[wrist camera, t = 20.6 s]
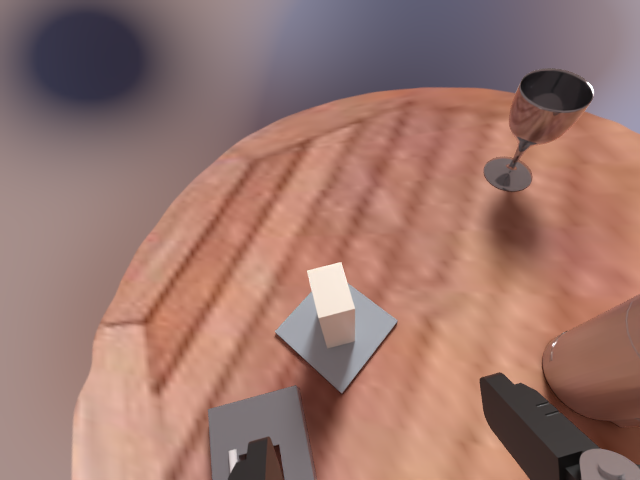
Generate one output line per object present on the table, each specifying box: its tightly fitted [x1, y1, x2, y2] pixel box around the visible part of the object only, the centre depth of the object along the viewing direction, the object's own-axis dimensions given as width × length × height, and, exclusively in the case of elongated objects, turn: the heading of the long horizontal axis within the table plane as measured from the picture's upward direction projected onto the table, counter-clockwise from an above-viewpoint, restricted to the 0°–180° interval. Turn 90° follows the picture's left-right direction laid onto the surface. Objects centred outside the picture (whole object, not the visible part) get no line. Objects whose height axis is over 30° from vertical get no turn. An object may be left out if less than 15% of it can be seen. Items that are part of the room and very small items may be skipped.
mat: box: [275, 284, 397, 394], centre depth 43 cm, size 11×11×1 cm
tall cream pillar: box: [307, 262, 355, 349], centre depth 38 cm, size 5×4×12 cm
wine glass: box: [484, 69, 594, 191], centre depth 47 cm, size 8×8×15 cm
